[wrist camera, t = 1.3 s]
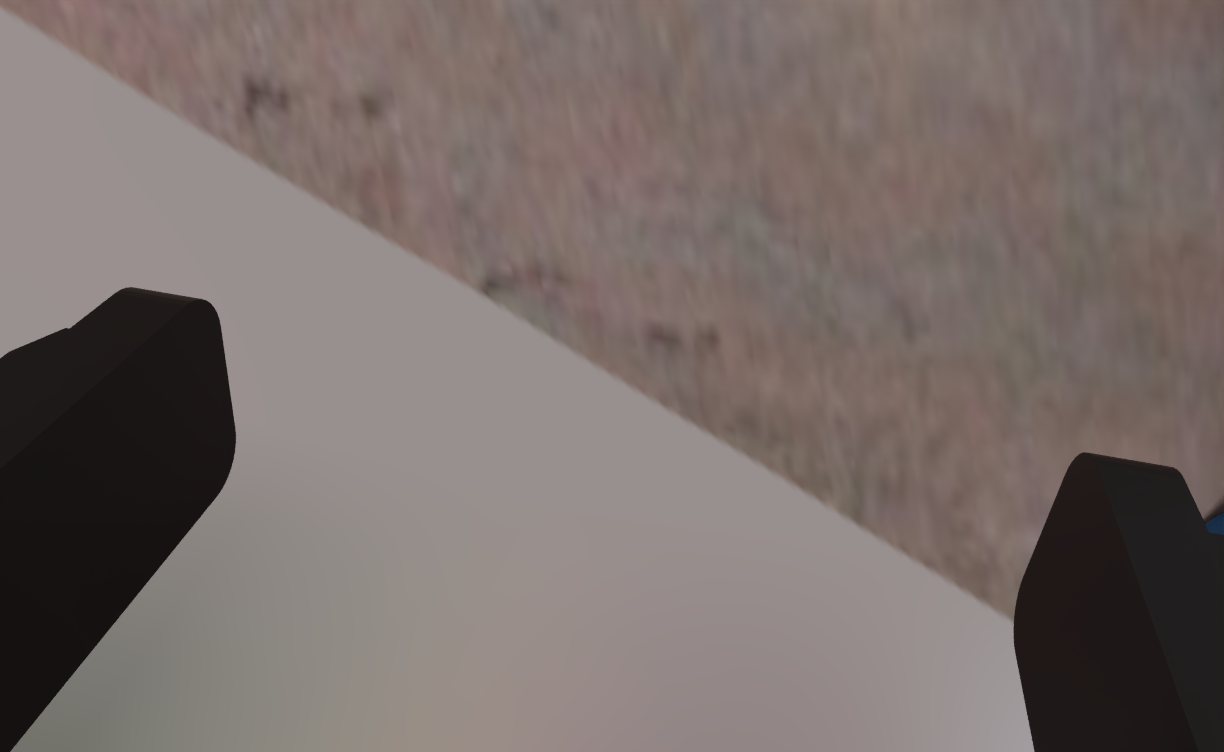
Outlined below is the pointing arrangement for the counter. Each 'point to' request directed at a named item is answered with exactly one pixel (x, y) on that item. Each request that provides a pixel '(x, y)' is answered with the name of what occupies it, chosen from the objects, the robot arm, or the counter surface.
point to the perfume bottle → (1216, 524)
